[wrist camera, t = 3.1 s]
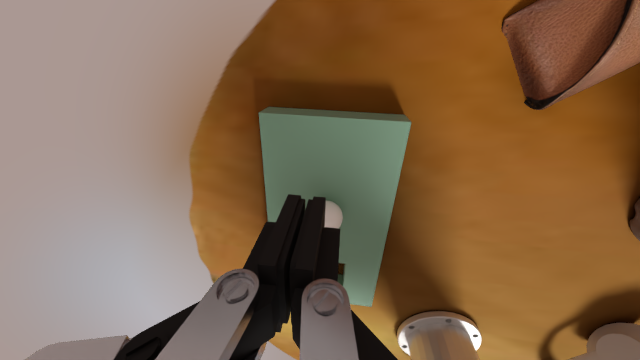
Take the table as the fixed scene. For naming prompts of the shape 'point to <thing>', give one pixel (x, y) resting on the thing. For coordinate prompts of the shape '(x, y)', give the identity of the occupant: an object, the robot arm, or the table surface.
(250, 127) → the table surface
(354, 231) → the green board
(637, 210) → the plant pot
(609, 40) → the sunglasses case
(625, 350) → the headphones
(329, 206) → the ball
